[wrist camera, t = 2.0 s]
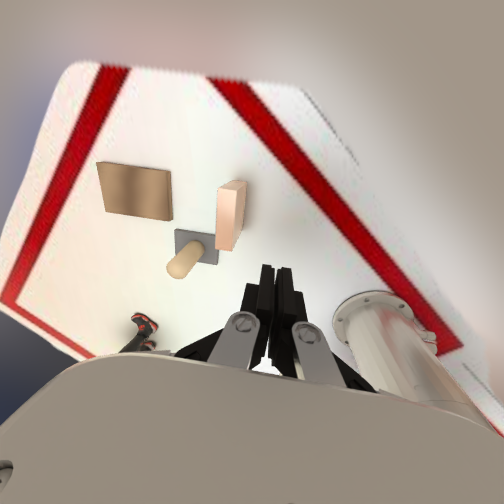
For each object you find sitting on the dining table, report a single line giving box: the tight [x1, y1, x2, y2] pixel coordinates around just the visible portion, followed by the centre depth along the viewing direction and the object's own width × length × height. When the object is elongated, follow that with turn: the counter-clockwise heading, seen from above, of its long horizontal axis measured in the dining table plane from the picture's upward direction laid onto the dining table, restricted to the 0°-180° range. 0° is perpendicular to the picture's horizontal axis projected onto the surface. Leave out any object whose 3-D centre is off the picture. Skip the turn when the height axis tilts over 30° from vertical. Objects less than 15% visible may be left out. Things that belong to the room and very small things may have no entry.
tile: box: [215, 180, 247, 252], centre depth 26 cm, size 2×7×8 cm, turn 173°
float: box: [166, 229, 219, 279], centre depth 30 cm, size 7×5×8 cm
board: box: [96, 162, 173, 221], centre depth 30 cm, size 10×7×1 cm
